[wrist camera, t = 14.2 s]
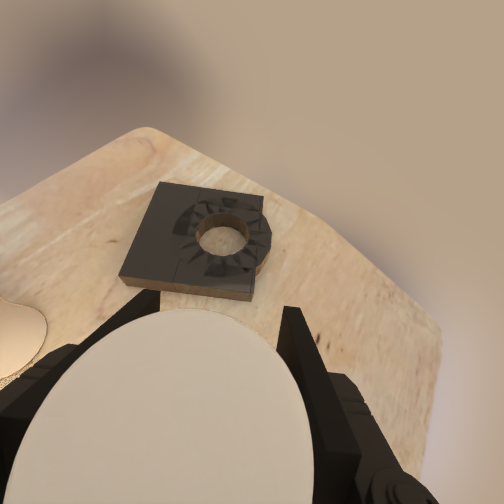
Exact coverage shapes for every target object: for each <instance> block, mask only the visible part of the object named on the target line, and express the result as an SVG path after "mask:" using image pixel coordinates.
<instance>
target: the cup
mask: <svg viewBox="0 0 504 504" xmlns="http://www.w3.org/2000/svg"><path fill="white" fill-rule="evenodd" d="M46 330H47V324H46V321H45V318H44V316H43V315H42V314H41V313H40V312H39V311H37V310H36V309H34V308H31V307H28V306H24V305H20V304H15V303H10V302H7V301H6V300H4V299H3V298H2V297H0V379H2V378H5V377H7V376H9V375H11V374H13V373H15V372H17V371H19V370H20V369H21V368H22V367H24V366H25V365H26V364H27V363H29V362H30V360H31V359H32V358H33V357H34V356H35V355H36V354H37V353H38V351H39V349H40V348H41V346H42V344H43V342H44V339H45V336H46Z"/></svg>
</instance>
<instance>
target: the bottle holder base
mask: <svg viewBox="0 0 504 504" xmlns="http://www.w3.org/2000/svg"><path fill="white" fill-rule="evenodd" d="M263 198H264V196H258V195H251V194H244V193H237V192H230V191H223V190H216V189H209V188H201V187H195V186H188V185H181V184H174V183H167V182H159V184H158V186H157V188H156V190H155V193H154V195H153V197H152V200H151V202H150V204H149V206H148V209H147V211H146V213H145V215H144V218H143V220H142V222H141V224H140V227H139V229H138V231H137V234H136V236H135V238H134V240H133V243H132V245H131V247H130V249H129V252H128V254H127V256H126V259H125V261H124V263H123V265H122V268H121V270H120V272H119V274H118V276H119V277H120V278H121V280H122V281H123V282H124V283H125V284H126V285H127V286H133V287H140V288H148V289H156V290H163V291H171V292H179V293H186V294H194V295H202V296H209V297H217V298H224V299H232V300H240V301H247V302H251V301H252V297H253V294H254V285H255V276H256V275H258V274H259V273H260V271H261V269H262V268H263V266H264V264H265V263H266V261H267V259H268V255H269V252H270V249H271V237H272V232H271V229H270V227H269V224H268V222H267V220H266V218H265V217H264V216H263V215H262V208H263ZM218 226H227V227H232V228H234V229H236V230H238V231H240V232H241V234H242V235H243V236H244V237H245V239H246V242H247V243H246V245H245V246H244V248H243V249H242V250H240V251H239V252H237V253H235V254H233V255H228V256H217V255H212V254H210V253H208V252H206V251H204V250H203V249H202V247H201V246H200V245H199V240H200V238H201V236H202V235H203V234H204V233H205V232H206V231H207V230H209V229H211V228H213V227H218Z"/></svg>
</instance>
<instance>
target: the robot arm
mask: <svg viewBox="0 0 504 504" xmlns="http://www.w3.org/2000/svg"><path fill="white" fill-rule="evenodd" d="M160 294H161V291H158V290H150V289H143V290H142V291H141V292H140V293H139V294H137V295H136V296H135V297H134V298H133V299H132V300H130V301H129V302H128V303H127V304H126V305H125V306H123V307H122V308H121V309H120V310H119V311H118V312H116V313H115V314H114V315H113V316H112V317H111V318H110V319H108V320H107V321H106V322H105V323H104V324H103V325H101V326H100V327H99V328H98V329H97V330H96V331H94V332H93V333H92V334H91V335H90V336H89V337H87V338H86V339H85V340H84V341H83V342H82V343H80V344H79V345H75V344H66V345H64V346H62V347H60V348H58V349H56V350H54V351H52V352H50V353H48V354H47V355H46V356H44V357H43V358H42V359H40V360H39V361H38V362H37V363H35V364H34V366H33V367H30V368H29V369H28V370H26V371H25V372H24V373H22V374H21V375H20V377H19V378H16V379H15V380H13V381H12V382H11V383H9V384H8V385H7V386H6V387H4V388H3V389H2V390H0V504H3V501H4V497H5V492H6V487H7V483H8V480H9V477H10V473H11V470H12V467H13V463H14V460H15V457H16V454H17V452H18V449H19V447H20V445H21V442H22V440H23V437H24V435H25V433H26V431H27V429H28V427H29V425H30V423H31V421H32V420H33V418H34V416H35V414H36V413H37V411H38V409H39V408H40V406H41V405H42V403H43V401H44V400H45V398H46V397H47V395H48V394H49V392H50V391H51V389H52V388H53V387H54V385H55V384H56V383H57V382H58V380H59V379H60V378H61V376H62V375H63V374H64V373H65V372H66V371H67V370H68V369H69V368H70V367H71V365H72V364H73V363H74V362H75V361H76V360H77V359H78V358H79V357H80V356H82V355H83V354H84V353H85V352H86V351H87V350H88V349H89V348H90V347H91V346H93V345H94V344H95V343H97V342H98V341H99V340H101V339H102V338H104V337H105V336H106V335H108V334H109V333H111V332H112V331H114V330H116V329H118V328H119V327H121V326H123V325H125V324H127V323H129V322H131V321H133V320H136V319H138V318H141V317H144V316H147V315H150V314H153V313H156V312H160ZM276 352H277V353H278V354H279V355H280V357H281V358H282V359H283V361H284V362H285V364H286V365H287V367H288V369H289V371H290V372H291V374H292V376H293V378H294V380H295V381H296V383H297V386H298V388H299V391H300V393H301V396H302V399H303V402H304V405H305V409H306V413H307V417H308V421H309V426H310V432H311V438H312V447H313V460H314V483H313V496H312V504H439V503H438V502H437V500H436V499H435V498H434V497H433V495H432V494H431V493H430V492H429V491H428V489H427V488H426V487H425V486H423V485H422V484H421V483H420V482H419V481H417V480H416V479H415V478H414V477H413V476H411V475H409V474H407V473H406V472H404V471H403V470H402V468H401V466H400V465H399V463H398V461H397V459H396V457H395V456H394V454H393V452H392V450H391V448H390V446H389V445H388V443H387V441H386V439H385V437H384V435H383V434H382V432H381V430H380V428H379V426H378V424H377V423H376V421H375V419H374V417H373V416H371V412H370V410H369V408H368V406H367V404H366V403H364V399H363V397H362V395H361V393H360V392H359V390H358V388H357V386H356V385H355V384H354V383H353V382H352V381H351V380H350V379H349V378H348V377H347V376H346V375H345V374H339V373H331V372H327V370H326V368H325V365H324V363H323V361H322V358H321V356H320V354H319V351H318V349H317V347H316V344H315V342H314V340H313V337H312V335H311V332H310V330H309V328H308V325H307V323H306V321H305V318H304V316H303V314H302V311H301V309H300V308H298V307H290V306H284V308H283V314H282V320H281V326H280V331H279V337H278V343H277V349H276Z"/></svg>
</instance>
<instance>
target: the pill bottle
mask: <svg viewBox="0 0 504 504" xmlns="http://www.w3.org/2000/svg"><path fill="white" fill-rule="evenodd" d="M313 483H314V460H313V447H312V438H311V432H310V426H309V421H308V417H307V413H306V409H305V405H304V402H303V399H302V396H301V393H300V391H299V388H298V386H297V383H296V381H295V380H294V378H293V376H292V374H291V372H290V371H289V369H288V367H287V365H286V364H285V362H284V361H283V359H282V358H281V357H280V355H279V354H278V353H277V352H276V350H275V349H274V348H273V347H272V346H271V345H270V344H269V343H268V342H267V341H266V340H265V339H264V338H263V337H262V336H261V335H260V334H258V333H257V332H256V331H254V330H253V329H252V328H250V327H249V326H247V325H246V324H245V323H243V322H241V321H239V320H237V319H234V318H232V317H229V316H227V315H224V314H221V313H218V312H214V311H209V310H203V309H173V310H167V311H160V312H156V313H153V314H150V315H147V316H144V317H141V318H138V319H136V320H133V321H131V322H129V323H127V324H125V325H123V326H121V327H119V328H118V329H116V330H114V331H112V332H111V333H109V334H108V335H106V336H105V337H104V338H102V339H101V340H99V341H98V342H97V343H95V344H94V345H93V346H91V347H90V348H89V349H88V350H87V351H86V352H85V353H84V354H83V355H82V356H80V357H79V358H78V359H77V360H76V361H75V362H74V363H73V364H72V365H71V367H70V368H69V369H68V370H67V371H66V372H65V373H64V374H63V375H62V376H61V378H60V379H59V380H58V382H57V383H56V384H55V385H54V387H53V388H52V389H51V391H50V392H49V394H48V395H47V397H46V398H45V400H44V401H43V403H42V405H41V406H40V408H39V409H38V411H37V413H36V414H35V416H34V418H33V420H32V421H31V423H30V425H29V427H28V429H27V431H26V433H25V435H24V437H23V440H22V442H21V445H20V447H19V449H18V452H17V454H16V457H15V460H14V463H13V467H12V470H11V473H10V477H9V480H8V483H7V487H6V492H5V497H4V501H3V504H312V496H313Z"/></svg>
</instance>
